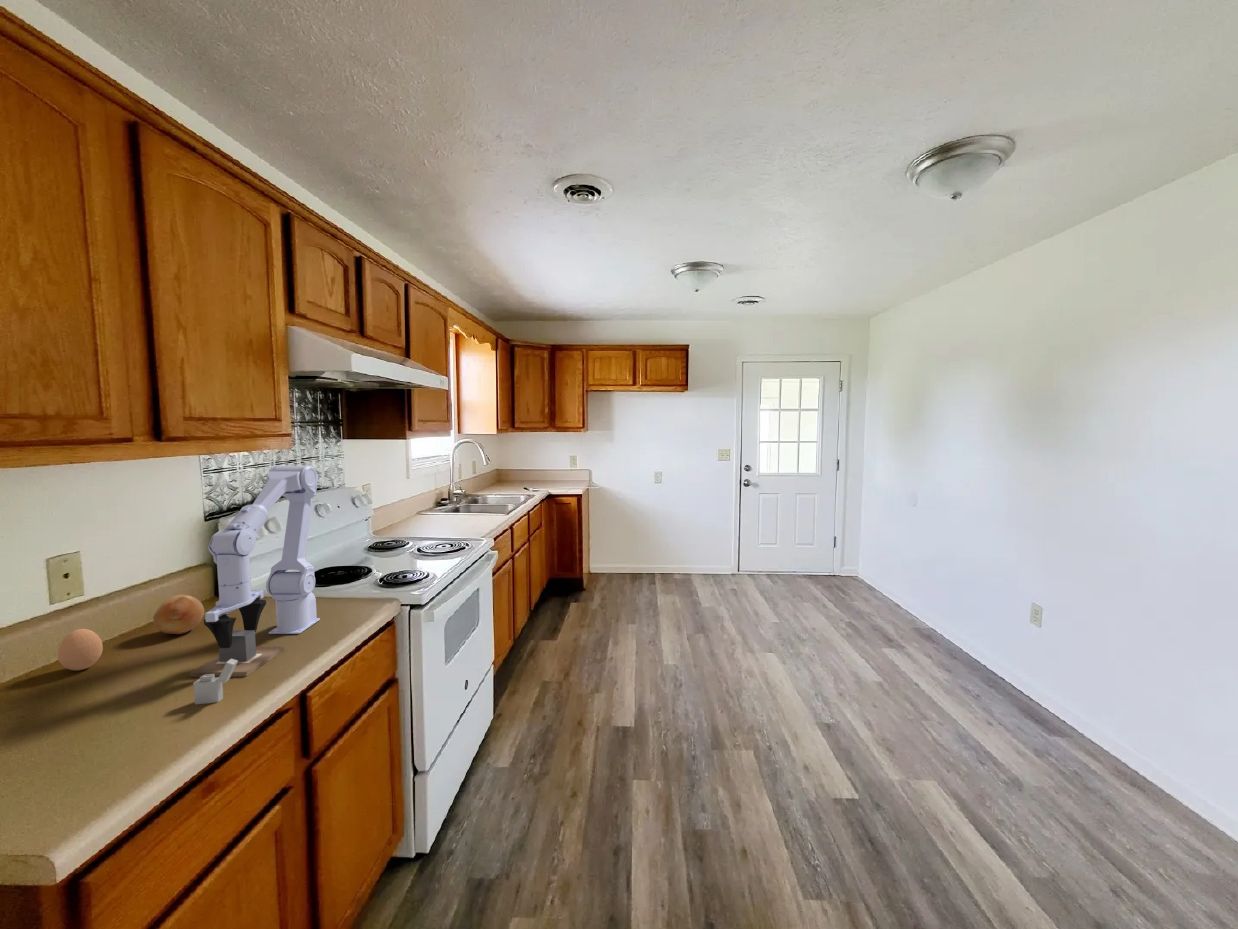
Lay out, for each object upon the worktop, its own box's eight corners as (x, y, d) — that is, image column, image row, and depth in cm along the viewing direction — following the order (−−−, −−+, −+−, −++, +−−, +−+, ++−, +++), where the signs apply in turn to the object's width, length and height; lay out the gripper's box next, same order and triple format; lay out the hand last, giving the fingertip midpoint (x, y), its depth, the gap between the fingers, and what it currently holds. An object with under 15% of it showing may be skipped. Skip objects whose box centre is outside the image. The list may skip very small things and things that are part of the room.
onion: (147, 636, 123) (145, 598, 123) (195, 622, 132) (193, 587, 131) (164, 644, 119) (161, 605, 118) (212, 629, 128) (210, 592, 127)
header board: (233, 651, 115) (232, 637, 115) (283, 650, 116) (283, 636, 115) (190, 677, 103) (189, 661, 103) (246, 676, 104) (245, 661, 103)
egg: (112, 662, 110) (109, 624, 109) (77, 677, 103) (74, 636, 102) (86, 661, 110) (83, 623, 109) (50, 676, 103) (46, 635, 103)
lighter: (194, 704, 93) (191, 665, 92) (199, 699, 95) (197, 661, 94) (235, 700, 95) (233, 661, 94) (240, 695, 96) (238, 657, 96)
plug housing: (229, 655, 111) (228, 630, 110) (256, 655, 111) (254, 630, 110) (219, 661, 108) (217, 636, 107) (246, 661, 108) (245, 636, 108)
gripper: (241, 572, 115) (244, 626, 116) (188, 593, 101) (193, 655, 102) (270, 572, 115) (274, 626, 116) (222, 593, 101) (227, 654, 102)
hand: (238, 639), depth 109 cm, fingers open, 7 cm apart
